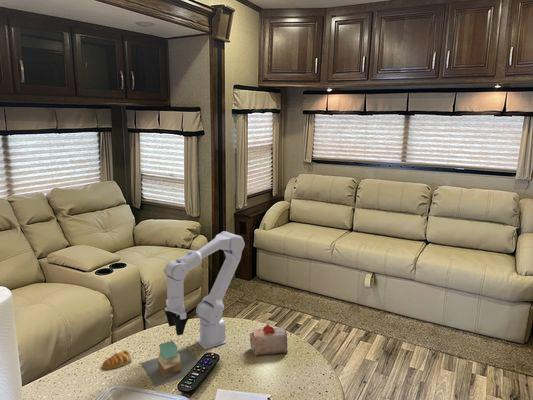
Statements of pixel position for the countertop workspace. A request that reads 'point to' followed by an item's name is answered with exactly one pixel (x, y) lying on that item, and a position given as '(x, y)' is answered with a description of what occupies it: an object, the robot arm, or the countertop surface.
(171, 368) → the tower base
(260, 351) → the food item
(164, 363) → the tower mid
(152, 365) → the mat
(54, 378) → the countertop surface
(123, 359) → the pastry
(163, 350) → the teal block
